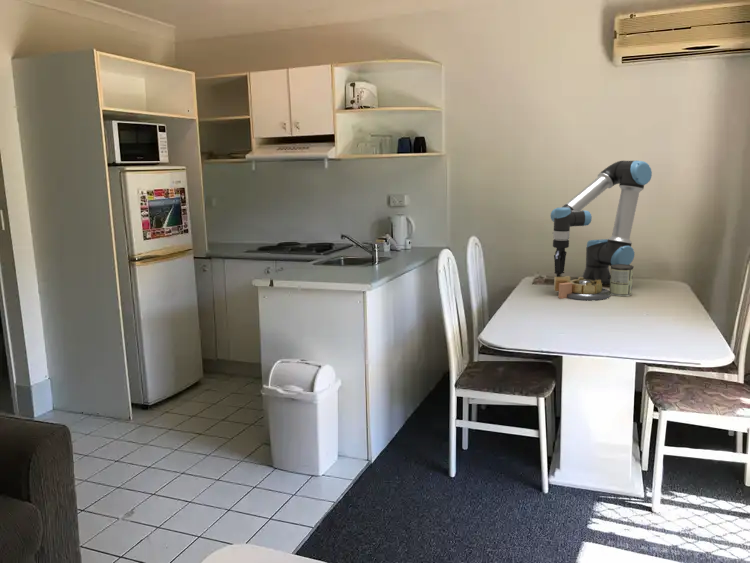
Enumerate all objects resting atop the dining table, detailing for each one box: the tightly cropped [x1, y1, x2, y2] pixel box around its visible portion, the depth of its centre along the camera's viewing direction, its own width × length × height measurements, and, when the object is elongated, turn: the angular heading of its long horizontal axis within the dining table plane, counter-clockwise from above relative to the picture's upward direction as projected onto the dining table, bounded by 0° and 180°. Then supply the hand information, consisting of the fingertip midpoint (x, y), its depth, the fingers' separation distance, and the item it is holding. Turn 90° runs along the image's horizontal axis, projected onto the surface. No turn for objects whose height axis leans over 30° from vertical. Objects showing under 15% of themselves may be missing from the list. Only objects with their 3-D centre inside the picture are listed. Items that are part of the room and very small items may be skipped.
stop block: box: [557, 282, 572, 300], centre depth 299 cm, size 6×2×7 cm, turn 114°
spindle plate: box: [566, 280, 611, 302], centre depth 304 cm, size 24×24×7 cm
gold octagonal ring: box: [553, 275, 603, 294], centre depth 304 cm, size 22×15×7 cm
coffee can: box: [609, 264, 634, 297], centre depth 304 cm, size 10×10×14 cm
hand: (558, 286), depth 308 cm, fingers closed
